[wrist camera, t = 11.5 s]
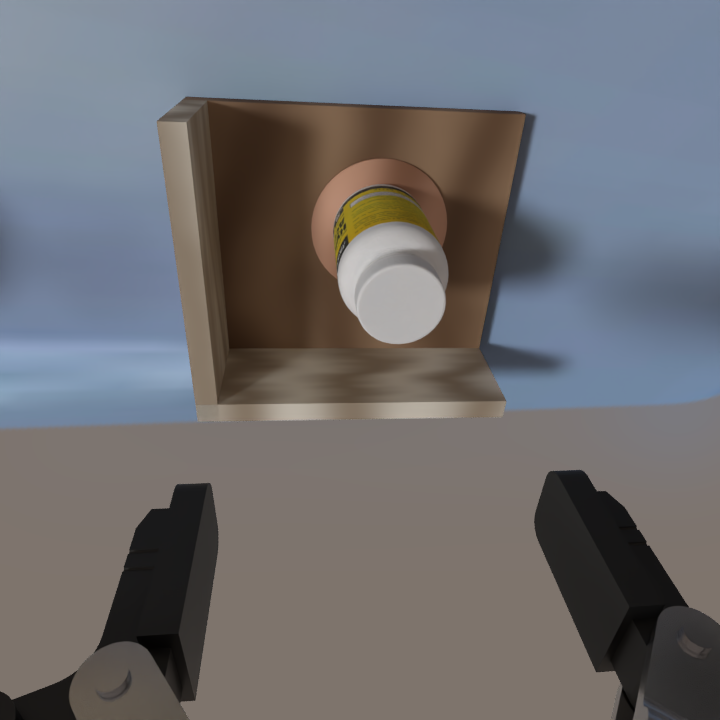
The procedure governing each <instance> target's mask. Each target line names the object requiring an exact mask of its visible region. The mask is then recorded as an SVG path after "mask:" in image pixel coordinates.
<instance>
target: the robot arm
mask: <svg viewBox="0 0 720 720" xmlns="http://www.w3.org/2000/svg"><path fill="white" fill-rule="evenodd" d="M534 523H535V531H536V536H537V539H538V541H539V544H540V546H541V548H542V550H543V553H544V555H545V557H546V560H547V562H548V564H549V566H550V568H551V571H552V573H553V575H554V578H555V580H556V582H557V584H558V587H559V589H560V591H561V594H562V596H563V598H564V600H565V603H566V605H567V607H568V609H569V612H570V614H571V616H572V618H573V621H574V623H575V625H576V627H577V630H578V632H579V634H580V637H581V639H582V641H583V643H584V646H585V648H586V650H587V653H588V655H589V657H590V659H591V661H592V664H593V666H594V668H595V670H596V672H605V671H616V674H617V676H618V678H619V680H620V682H621V684H620V686H619V688H618V691H617V695H616V699H615V703H614V708H613V713H612V717H611V720H720V625H719V624H718V623H717V622H715V621H714V620H713V619H712V618H710V617H709V616H707V615H705V614H704V613H702V612H700V611H698V610H695V609H693V608H689V606H688V605H687V604H686V603H685V601H684V599H683V598H682V596H681V595H680V593H679V592H678V590H677V588H676V587H675V585H674V584H673V582H672V581H671V579H670V577H669V576H668V574H667V573H666V571H665V570H664V568H663V566H662V565H661V563H660V562H659V560H658V559H657V557H656V556H655V554H654V552H653V551H652V550H651V548H650V546H647V544H646V540H645V538H644V537H643V535H642V534H641V532H640V531H639V530H637V528H636V525H635V523H634V521H633V520H632V518H631V517H630V515H629V514H628V512H627V510H626V509H625V507H623V506H622V505H621V504H620V503H619V502H618V501H617V500H615V499H614V498H613V497H612V496H611V495H610V494H608V493H607V492H606V491H596V489H595V487H594V486H593V484H592V483H591V481H590V479H589V478H588V476H587V475H586V473H585V472H583V471H582V470H571V471H570V470H569V471H550V472H549V473H548V475H547V477H546V479H545V483H544V486H543V489H542V493H541V496H540V499H539V503H538V506H537V509H536V513H535V521H534ZM217 553H218V525H217V518H216V513H215V505H214V500H213V493H212V487H211V484H210V483H201V484H177V485H176V487H175V489H174V493H173V497H172V500H171V504H170V508H167V509H152V510H151V511H150V512H149V513H148V514H147V515H146V517H145V518H144V519H143V520H142V522H141V523H140V524H139V525H138V527H137V528H136V530H135V533H134V537H133V540H132V543H131V546H130V552H129V554H128V556H127V559H126V562H125V565H124V572H122V575H121V578H120V581H119V585H118V588H117V591H116V594H115V597H114V600H113V604H112V607H111V610H110V613H109V617H108V620H107V623H106V626H105V629H104V632H103V636H102V638H101V641H100V643H99V645H98V647H97V649H96V651H95V652H94V653H93V654H92V655H91V656H90V657H89V658H87V660H85V662H84V663H83V664H82V665H81V666H80V668H79V669H78V670H77V671H76V672H74V673H73V674H72V675H70V676H69V677H67V678H65V679H63V680H62V681H60V682H57V683H55V684H53V685H50V686H48V687H45V688H42V689H39V690H37V691H34V692H32V693H29V694H27V695H24V696H21V697H19V698H16V699H13V700H11V699H10V697H9V696H8V695H6V694H5V693H2V692H0V720H189V718H188V717H187V715H186V713H185V711H184V710H183V708H182V706H181V705H180V702H181V701H193V700H194V701H195V699H196V692H197V686H198V679H199V673H200V666H201V659H202V653H203V646H204V639H205V633H206V626H207V620H208V613H209V606H210V599H211V593H212V587H213V579H214V573H215V567H216V560H217Z"/></svg>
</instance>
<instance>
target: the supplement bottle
mask: <svg viewBox="0 0 720 720" xmlns="http://www.w3.org/2000/svg"><path fill="white" fill-rule="evenodd" d="M333 239H334V249H335V259H336V268H337V280H338V285H339V290H340V293H341V296H342V298H343V301H344V302H345V304H346V306H347V307H348V308H349V310H350V311H351V312H352V313H353V314H354V315H355V316H357V317H358V319H359V321H360V323H361V325H362V327H363V328H364V329H365V331H366V332H367V333H368V334H370V335H371V336H372V337H374V338H375V339H377V340H379V341H382V342H385V343H390V344H405V343H411V342H414V341H417V340H419V339H421V338H423V337H424V336H426V335H427V334H429V333H430V332H431V331H432V330H433V329H434V328H435V327H436V326H437V325H438V323H439V322H440V320H441V319H442V316H443V314H444V311H445V306H446V294H445V290H446V287H447V283H448V264H447V259H446V256H445V253H444V251H443V248H442V246H441V245H440V243H439V241H438V239H437V237H436V235H435V233H434V231H433V230H432V228H431V225H430V224H429V222H428V220H427V218H426V216H425V214H424V212H423V210H422V209H421V207H420V205H419V204H418V203H417V201H416V200H415V199H414V198H413V197H412V196H411V195H410V194H409V193H408V192H406V191H405V190H403V189H401V188H398V187H396V186H392V185H387V184H375V185H370V186H367V187H364V188H362V189H359V190H358V191H356V192H354V193H353V194H352V195H350V196H349V197H348V198H347V199H346V200H345V201H344V202H343V204H342V205H341V206H340V208H339V210H338V212H337V214H336V217H335V221H334V227H333Z"/></svg>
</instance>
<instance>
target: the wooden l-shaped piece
mask: <svg viewBox="0 0 720 720" xmlns="http://www.w3.org/2000/svg"><path fill="white" fill-rule="evenodd" d="M525 116H526V114H524V113H522V112H518V111H496V110H473V109H450V108H428V107H405V106H383V105H360V104H338V103H315V102H293V101H270V100H247V99H225V98H202V97H185V98H184V99H183V100H182V101H181V102H179V103H178V104H177V105H176V106H175V107H173V108H172V109H171V110H170V111H169V112H167V113H166V114H165V115H164V116H162V117H161V118H160V119H159V120H158V121H157V127H158V134H159V141H160V149H161V156H162V163H163V170H164V178H165V185H166V192H167V199H168V207H169V214H170V221H171V229H172V236H173V243H174V250H175V258H176V265H177V272H178V280H179V287H180V294H181V301H182V309H183V316H184V323H185V331H186V338H187V345H188V352H189V360H190V367H191V374H192V382H193V389H194V396H195V403H196V411H197V418H198V422H209V421H274V420H338V419H402V418H463V417H464V418H467V417H502V416H503V413H504V409H505V405H506V400H505V398H504V396H503V394H502V392H501V390H500V388H499V386H498V384H497V382H496V380H495V378H494V376H493V374H492V372H491V370H490V368H489V366H488V364H487V362H486V361H485V359H484V357H483V355H482V353H481V351H480V349H479V346H480V341H481V336H482V331H483V326H484V321H485V316H486V311H487V306H488V301H489V296H490V291H491V286H492V281H493V276H494V271H495V266H496V261H497V256H498V251H499V246H500V241H501V236H502V231H503V226H504V221H505V216H506V211H507V206H508V201H509V196H510V191H511V186H512V181H513V176H514V171H515V166H516V161H517V156H518V151H519V146H520V141H521V136H522V131H523V126H524V121H525ZM375 184H387V185H392V186H396V187H398V188H401V189H403V190H405V191H406V192H408V193H409V194H410V195H411V196H412V197H413V198H414V199H415V200H416V201H417V203H418V204H419V205H420V207H421V209H422V210H423V212H424V214H425V216H426V218H427V220H428V222H429V224H430V225H431V228H432V230H433V231H434V233H435V235H436V237H437V239H438V241H439V243H440V245H441V246H442V248H443V251H444V253H445V256H446V259H447V264H448V283H447V287H446V290H445V294H446V306H445V311H444V314H443V316H442V319H441V320H440V322H439V323H438V325H437V326H436V327H435V328H434V329H433V330H432V331H431V332H430V333H429V334H427V335H426V336H424V337H423V338H421V339H419V340H417V341H414V342H411V343H405V344H390V343H385V342H382V341H379V340H377V339H375V338H374V337H372V336H371V335H370V334H368V333H367V332H366V331H365V329H364V328H363V327H362V325H361V323H360V321H359V319H358V317H357V316H355V315H354V314H353V313H352V312H351V311H350V310H349V308H348V307H347V306H346V304H345V302H344V301H343V298H342V296H341V293H340V290H339V285H338V280H337V268H336V259H335V249H334V239H333V227H334V221H335V217H336V214H337V212H338V210H339V208H340V206H341V205H342V204H343V202H344V201H345V200H346V199H347V198H348V197H349V196H350V195H352V194H353V193H354V192H356V191H358V190H359V189H362V188H364V187H367V186H370V185H375Z"/></svg>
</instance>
